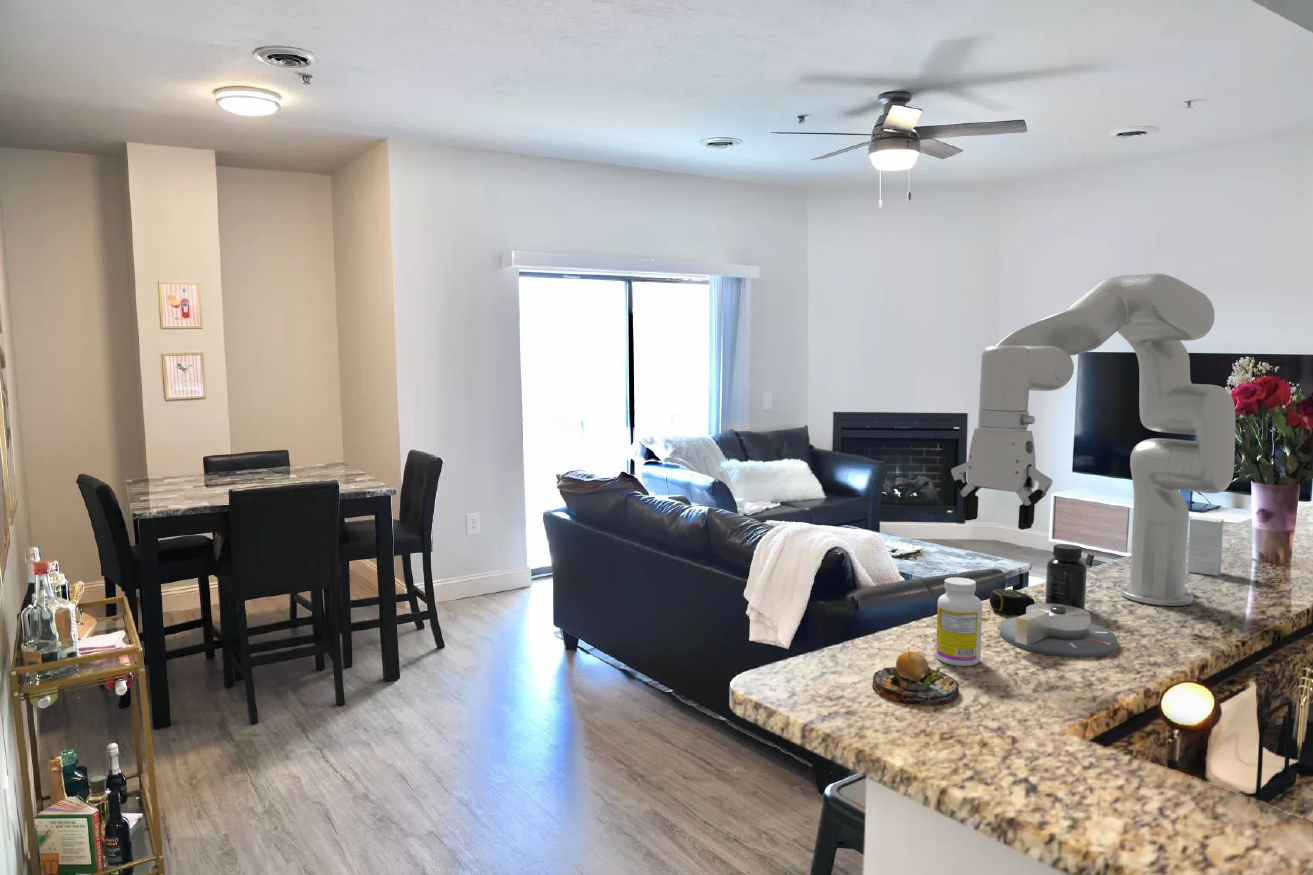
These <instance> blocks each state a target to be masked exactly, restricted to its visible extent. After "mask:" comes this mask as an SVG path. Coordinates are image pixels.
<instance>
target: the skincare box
mask: <svg viewBox="0 0 1313 875" xmlns="http://www.w3.org/2000/svg"><path fill="white" fill-rule="evenodd" d="M1223 529H1224V519H1223V518H1212V517H1204V516H1203V517H1202V516H1192V517H1191V518H1189V526H1188V548H1187V550H1188V552H1187V553H1188V554H1187V573H1193V574H1194V573H1195V574H1201V575H1209V576H1215V577H1216V576H1218V577H1219V576H1220V574H1221V572H1222V555H1223V554H1222V551H1223V537H1224V536H1223V531H1224V530H1223Z"/></svg>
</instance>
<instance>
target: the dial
mask: <svg viewBox="0 0 1313 875" xmlns="http://www.w3.org/2000/svg"><path fill="white" fill-rule="evenodd" d="M1015 617H1016V629H1015V642H1018V643H1022V644H1026V645H1028V644H1030V643H1032V642H1035V641H1037V640H1040V639H1042V638H1045V637H1047V636H1049V637H1055V638H1066V639H1075V638H1083V637H1087V636H1089V635H1090V625H1091V624H1092V623H1091V621H1092V619H1091V618H1092V615H1091V613H1090V612H1088V611H1087V610H1085V609H1084V610H1083V609H1080V608H1076V607H1072V606H1067V605H1061V604H1045V603H1035V604H1033V605H1030V606H1028V607H1027V608H1026V612H1025V614H1022V615H1019V616H1015Z"/></svg>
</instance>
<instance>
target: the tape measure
mask: <svg viewBox="0 0 1313 875" xmlns="http://www.w3.org/2000/svg"><path fill="white" fill-rule="evenodd" d="M989 604H990V608H992V609H993V610H995V611H999V612H1001V613H1003V614H1006V615H1007V614H1016V615H1018V614H1023V613H1026V608H1027V607H1028V606H1030V605H1033V604H1036V602H1035V599H1034V598H1032V597H1031V596H1029V595H1027V594H1026V593H1023V592H1021V591H1017V590H1015V589H1011V588H1010V589H1008V588H1007V589H1004V588H1003V589H1002V588H999V589H998V588H997V589H994V590H992V591H991V592H990V595H989Z"/></svg>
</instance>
